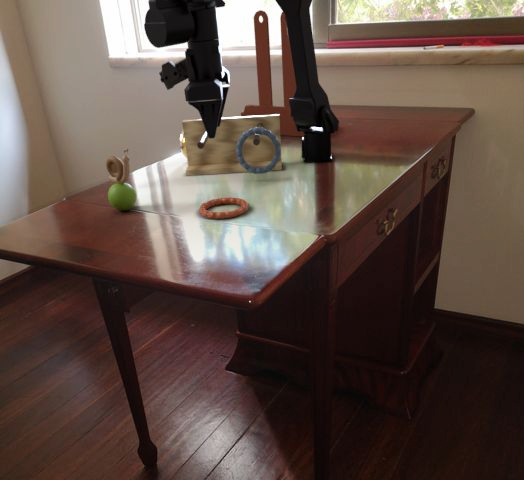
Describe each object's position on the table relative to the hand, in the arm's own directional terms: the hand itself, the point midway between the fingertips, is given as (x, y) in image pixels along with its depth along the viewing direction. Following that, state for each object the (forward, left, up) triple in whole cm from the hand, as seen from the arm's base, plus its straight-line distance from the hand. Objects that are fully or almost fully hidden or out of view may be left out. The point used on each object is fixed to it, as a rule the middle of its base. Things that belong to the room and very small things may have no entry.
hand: (214, 132), depth 106 cm
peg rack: (-1, -14, -13) cm, 19 cm away
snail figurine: (+18, +5, -13) cm, 23 cm away
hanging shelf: (-14, -58, -13) cm, 61 cm away
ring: (+10, -31, -13) cm, 35 cm away
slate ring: (-8, -10, -6) cm, 14 cm away
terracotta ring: (-1, +9, -12) cm, 15 cm away
